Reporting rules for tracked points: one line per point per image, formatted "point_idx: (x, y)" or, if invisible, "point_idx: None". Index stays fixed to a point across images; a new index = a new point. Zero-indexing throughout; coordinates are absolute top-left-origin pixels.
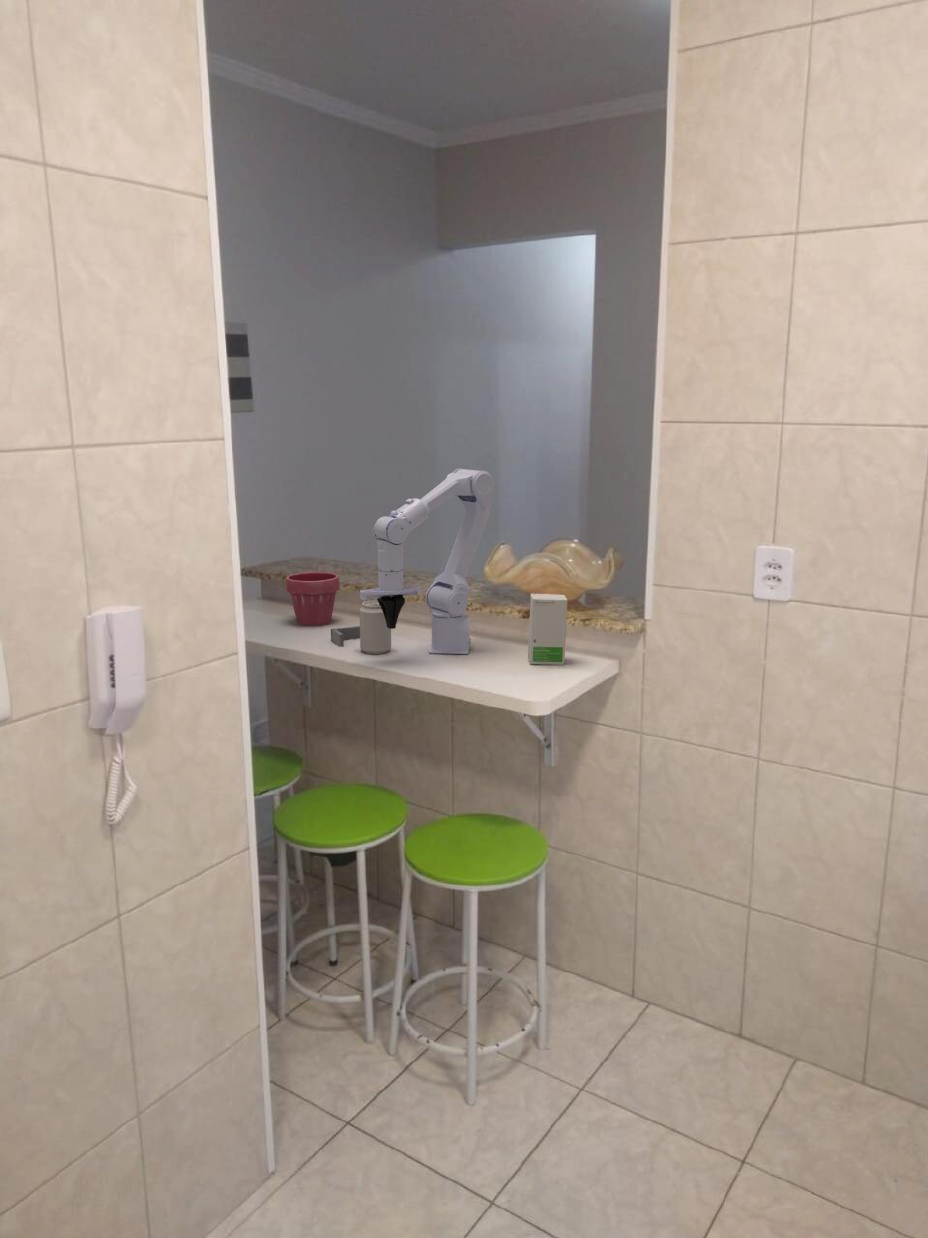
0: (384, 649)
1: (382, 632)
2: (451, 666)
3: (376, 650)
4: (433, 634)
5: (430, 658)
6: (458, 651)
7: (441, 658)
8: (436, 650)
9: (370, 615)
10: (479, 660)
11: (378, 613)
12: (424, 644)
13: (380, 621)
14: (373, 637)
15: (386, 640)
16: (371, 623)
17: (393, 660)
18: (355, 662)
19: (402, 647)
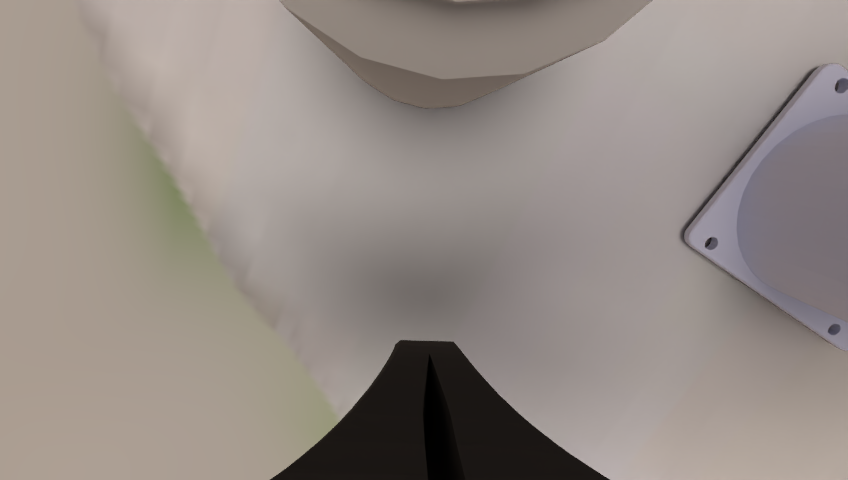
0: (452, 106)
1: (449, 98)
2: (633, 474)
3: (395, 100)
4: (828, 234)
5: (632, 315)
6: (823, 314)
7: (680, 341)
8: (738, 239)
9: (295, 16)
10: (808, 449)
11: (409, 72)
12: (800, 5)
13: (434, 90)
14: (368, 79)
15: (480, 96)
16: (331, 49)
17: (436, 259)
18: (219, 195)
19: None
